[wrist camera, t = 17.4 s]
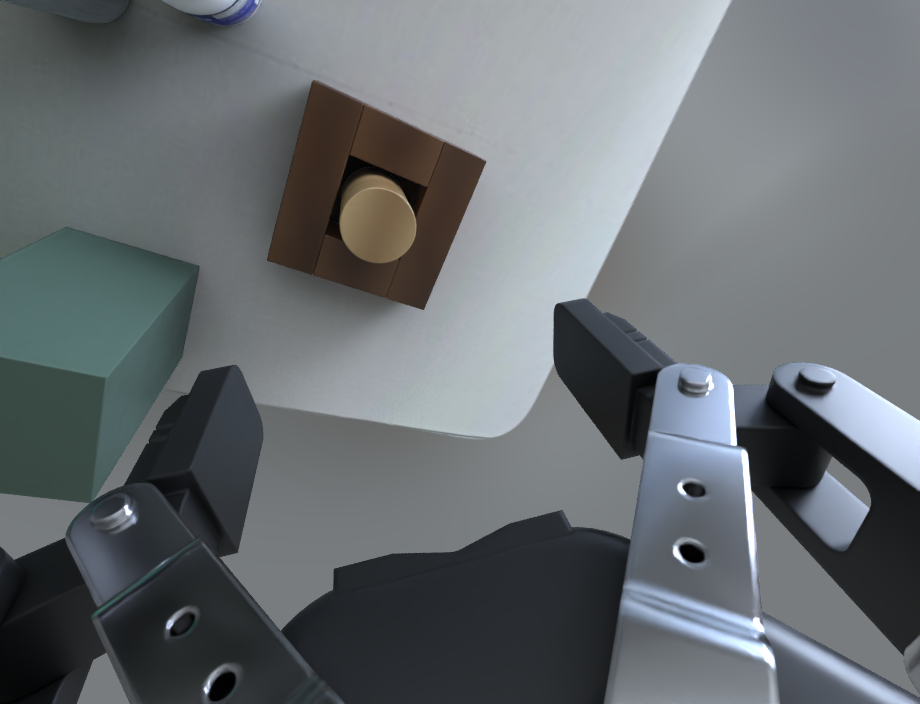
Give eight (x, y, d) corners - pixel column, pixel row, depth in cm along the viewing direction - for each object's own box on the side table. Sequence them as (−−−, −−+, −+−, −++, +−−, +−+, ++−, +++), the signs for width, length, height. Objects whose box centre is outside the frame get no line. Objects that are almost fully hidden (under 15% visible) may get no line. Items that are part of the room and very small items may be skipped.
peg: (333, 216, 33) (329, 249, 26) (352, 156, 31) (353, 174, 25) (391, 237, 35) (401, 273, 28) (411, 181, 33) (427, 205, 26)
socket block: (274, 243, 33) (266, 261, 30) (316, 80, 29) (312, 79, 26) (417, 290, 37) (423, 310, 34) (472, 153, 33) (486, 161, 30)
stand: (58, 329, 33) (-121, 480, 20) (66, 226, 30) (-142, 328, 17) (182, 357, 36) (91, 504, 23) (199, 265, 33) (106, 377, 20)
